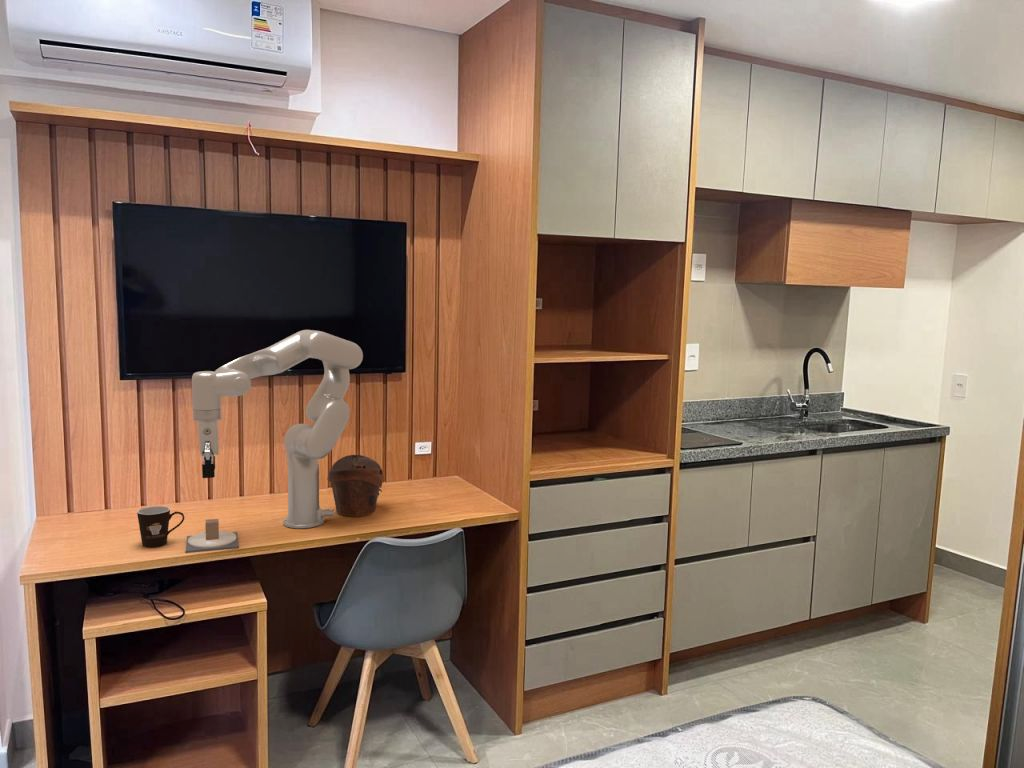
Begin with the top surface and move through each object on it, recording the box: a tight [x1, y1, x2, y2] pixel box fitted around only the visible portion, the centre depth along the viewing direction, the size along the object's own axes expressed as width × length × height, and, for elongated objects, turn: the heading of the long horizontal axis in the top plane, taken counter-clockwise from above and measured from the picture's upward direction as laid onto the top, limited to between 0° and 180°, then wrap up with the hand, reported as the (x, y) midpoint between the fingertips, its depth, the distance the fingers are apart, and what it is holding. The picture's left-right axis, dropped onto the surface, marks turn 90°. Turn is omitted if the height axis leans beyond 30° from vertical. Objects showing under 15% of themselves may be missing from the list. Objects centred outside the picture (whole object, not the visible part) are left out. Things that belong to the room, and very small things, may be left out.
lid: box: [188, 518, 236, 548], centre depth 223 cm, size 13×13×6 cm
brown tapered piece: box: [327, 454, 384, 518], centre depth 257 cm, size 18×20×18 cm
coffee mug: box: [136, 505, 185, 549], centre depth 221 cm, size 12×9×10 cm
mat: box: [185, 531, 240, 554], centre depth 224 cm, size 14×14×1 cm
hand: (208, 473), depth 222 cm, fingers open, 9 cm apart
